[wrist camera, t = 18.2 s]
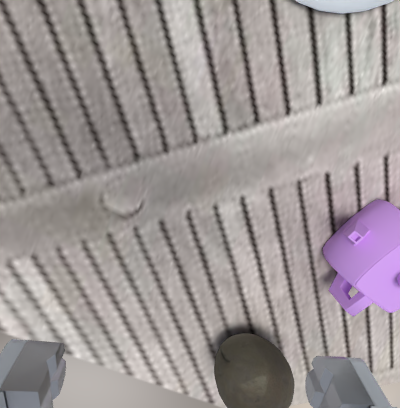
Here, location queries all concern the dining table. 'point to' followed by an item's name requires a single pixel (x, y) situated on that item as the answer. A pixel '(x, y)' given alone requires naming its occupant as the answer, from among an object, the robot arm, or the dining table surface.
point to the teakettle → (367, 258)
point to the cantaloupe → (253, 373)
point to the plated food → (343, 5)
